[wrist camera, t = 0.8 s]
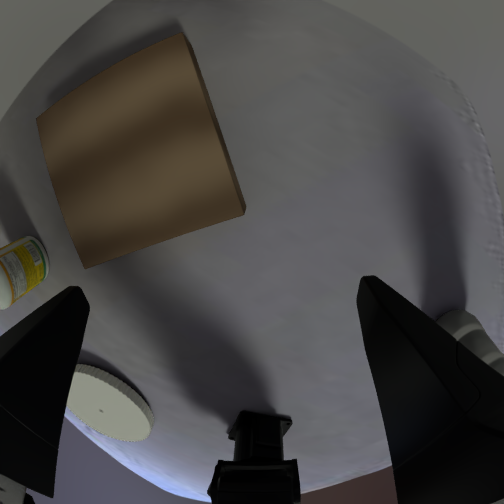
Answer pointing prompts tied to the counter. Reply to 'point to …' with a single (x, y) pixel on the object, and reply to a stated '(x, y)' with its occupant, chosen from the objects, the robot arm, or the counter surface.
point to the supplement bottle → (21, 269)
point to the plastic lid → (109, 405)
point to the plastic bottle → (472, 337)
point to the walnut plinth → (139, 154)
